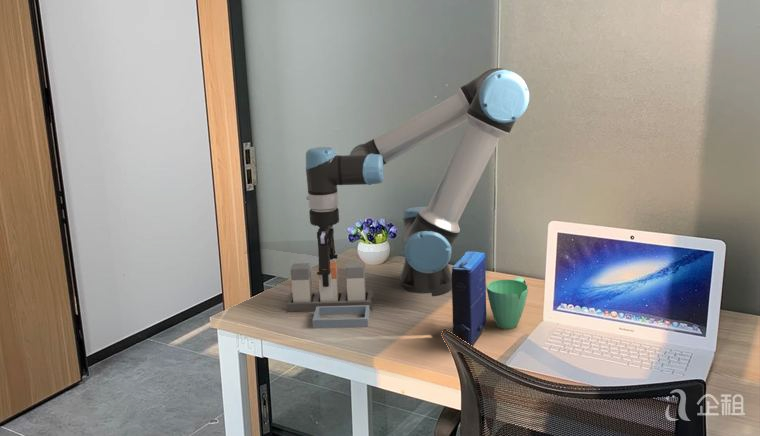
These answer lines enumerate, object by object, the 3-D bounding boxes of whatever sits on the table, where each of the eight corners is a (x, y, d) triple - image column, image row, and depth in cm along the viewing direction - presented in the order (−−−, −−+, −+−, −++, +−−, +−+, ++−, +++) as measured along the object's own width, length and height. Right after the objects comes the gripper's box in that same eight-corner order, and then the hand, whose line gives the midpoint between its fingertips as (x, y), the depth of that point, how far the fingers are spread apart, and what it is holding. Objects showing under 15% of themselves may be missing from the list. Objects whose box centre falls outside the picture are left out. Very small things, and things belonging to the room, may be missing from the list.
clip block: (373, 300, 186) (373, 289, 185) (372, 313, 178) (371, 302, 177) (291, 302, 187) (290, 292, 186) (285, 315, 179) (284, 305, 178)
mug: (518, 336, 161) (519, 296, 158) (480, 328, 166) (480, 290, 163) (539, 313, 173) (540, 276, 170) (503, 307, 178) (503, 270, 175)
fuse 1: (312, 301, 184) (310, 263, 182) (310, 308, 180) (307, 268, 177) (296, 302, 185) (293, 263, 182) (293, 308, 180) (290, 269, 177)
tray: (369, 316, 176) (369, 305, 175) (368, 330, 168) (367, 318, 167) (317, 317, 177) (316, 306, 176) (313, 331, 168) (312, 320, 167)
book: (472, 353, 154) (471, 269, 148) (449, 349, 156) (447, 267, 151) (488, 327, 166) (488, 249, 161) (467, 324, 169) (466, 247, 163)
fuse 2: (366, 300, 184) (364, 261, 181) (365, 306, 180) (363, 267, 177) (349, 300, 184) (347, 262, 181) (348, 307, 180) (345, 267, 177)
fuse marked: (339, 300, 184) (337, 262, 181) (338, 307, 180) (335, 268, 177) (322, 301, 184) (320, 262, 181) (321, 307, 180) (318, 268, 177)
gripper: (314, 198, 186) (320, 275, 192) (303, 220, 164) (309, 306, 170) (342, 197, 186) (346, 274, 192) (334, 219, 164) (339, 305, 170)
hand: (329, 289), depth 181 cm, fingers open, 10 cm apart
